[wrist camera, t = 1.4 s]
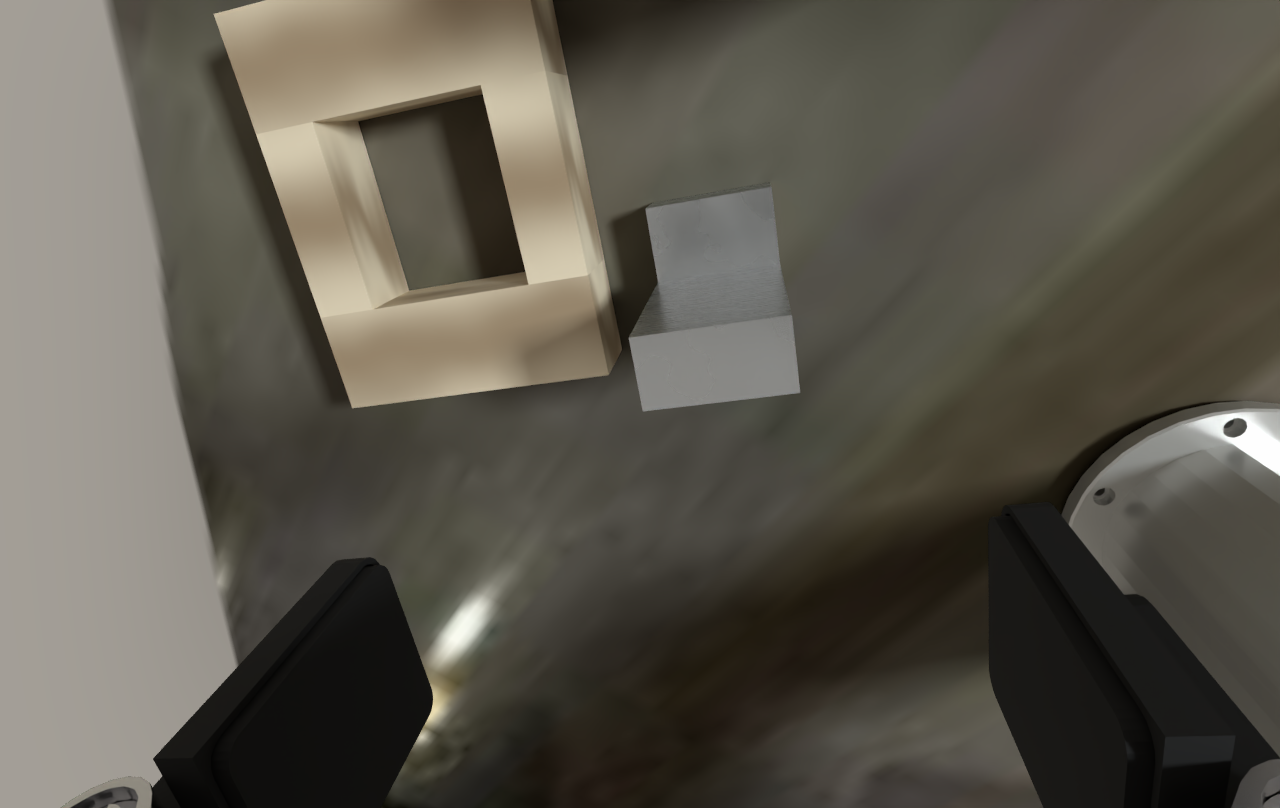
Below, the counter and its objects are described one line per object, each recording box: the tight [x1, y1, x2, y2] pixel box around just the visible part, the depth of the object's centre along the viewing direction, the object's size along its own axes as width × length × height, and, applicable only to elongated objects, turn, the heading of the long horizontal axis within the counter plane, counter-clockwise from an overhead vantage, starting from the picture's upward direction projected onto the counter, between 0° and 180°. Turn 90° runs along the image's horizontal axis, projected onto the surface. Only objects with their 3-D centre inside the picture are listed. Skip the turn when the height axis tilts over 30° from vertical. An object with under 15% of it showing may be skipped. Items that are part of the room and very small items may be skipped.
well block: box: [214, 0, 622, 408], centre depth 29 cm, size 16×12×4 cm
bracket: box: [629, 182, 800, 411], centre depth 26 cm, size 6×5×10 cm
